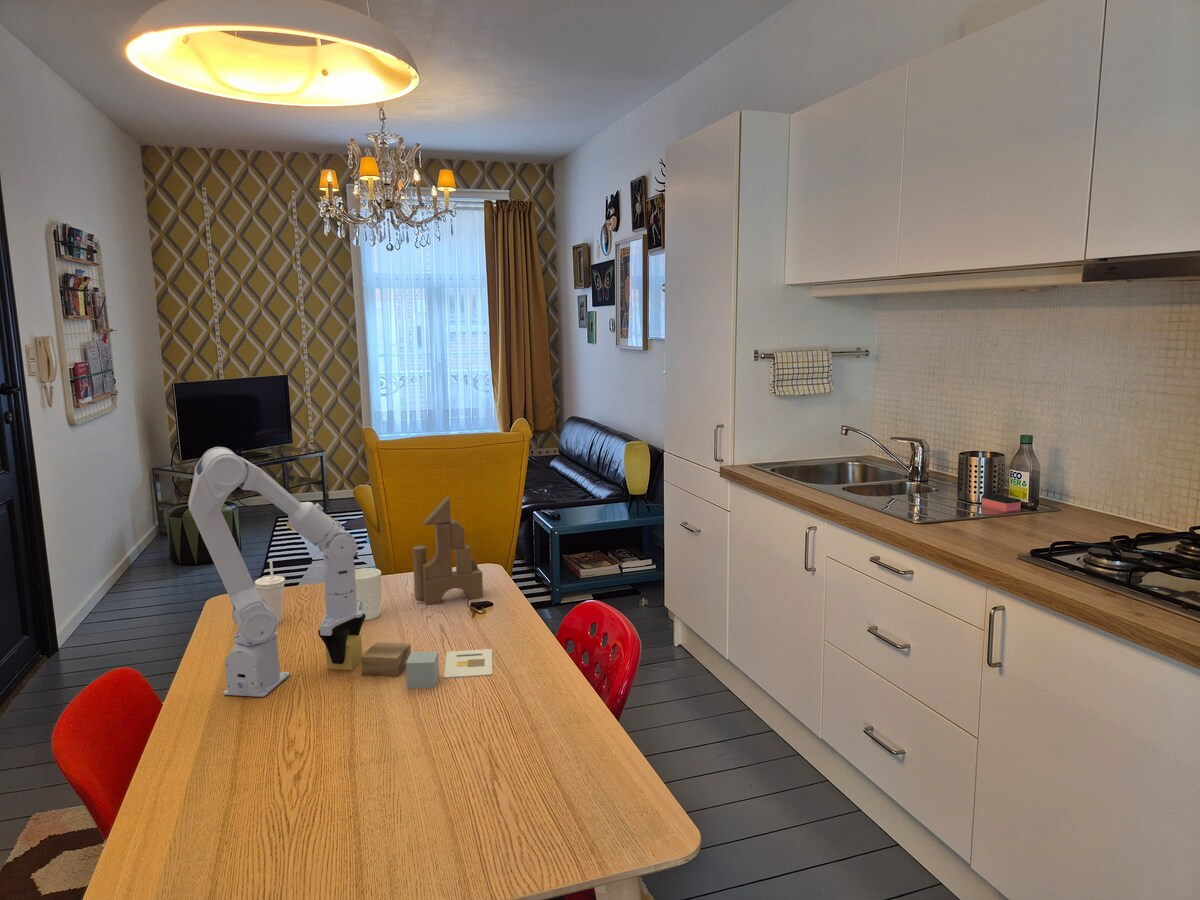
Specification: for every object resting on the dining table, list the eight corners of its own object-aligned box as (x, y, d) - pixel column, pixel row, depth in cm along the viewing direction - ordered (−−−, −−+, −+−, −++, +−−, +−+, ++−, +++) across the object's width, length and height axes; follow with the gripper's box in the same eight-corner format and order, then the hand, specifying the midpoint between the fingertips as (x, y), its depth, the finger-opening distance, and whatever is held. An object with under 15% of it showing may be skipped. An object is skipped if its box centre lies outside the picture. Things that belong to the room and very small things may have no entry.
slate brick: (435, 688, 149) (433, 662, 149) (407, 689, 149) (405, 663, 148) (439, 676, 154) (438, 651, 154) (412, 677, 154) (411, 652, 153)
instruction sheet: (492, 675, 154) (492, 673, 154) (443, 678, 153) (443, 676, 153) (492, 649, 166) (492, 648, 166) (447, 652, 165) (447, 651, 165)
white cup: (340, 620, 184) (337, 577, 182) (360, 608, 191) (357, 566, 190) (371, 623, 181) (368, 579, 180) (389, 611, 189) (387, 569, 187)
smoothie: (281, 627, 180) (276, 565, 178) (252, 627, 180) (247, 565, 178) (292, 616, 186) (288, 556, 184) (264, 616, 186) (260, 557, 184)
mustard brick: (351, 670, 157) (350, 645, 156) (326, 668, 158) (325, 644, 157) (362, 659, 162) (361, 635, 161) (338, 658, 163) (336, 634, 162)
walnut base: (397, 678, 154) (397, 658, 153) (362, 676, 155) (361, 656, 154) (411, 663, 161) (410, 643, 160) (377, 661, 162) (376, 642, 161)
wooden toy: (476, 589, 204) (473, 490, 200) (483, 597, 198) (480, 496, 194) (413, 597, 198) (409, 496, 194) (418, 606, 192) (413, 501, 188)
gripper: (343, 603, 150) (348, 673, 152) (375, 578, 164) (378, 643, 166) (307, 602, 151) (311, 672, 153) (341, 577, 165) (345, 642, 167)
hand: (344, 657), depth 160 cm, fingers closed on mustard brick, 5 cm apart
